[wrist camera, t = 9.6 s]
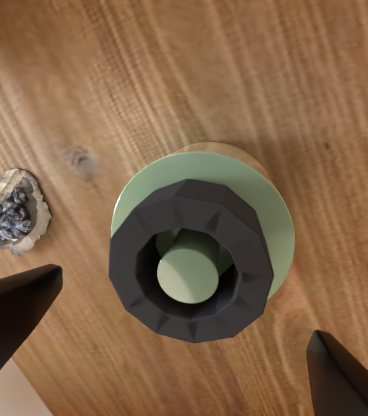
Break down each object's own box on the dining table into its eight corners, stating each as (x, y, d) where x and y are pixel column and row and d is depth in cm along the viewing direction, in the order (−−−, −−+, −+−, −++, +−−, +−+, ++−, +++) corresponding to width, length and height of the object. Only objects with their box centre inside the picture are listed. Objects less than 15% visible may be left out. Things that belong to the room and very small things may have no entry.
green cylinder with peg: (194, 285, 21) (167, 391, 13) (121, 191, 20) (39, 242, 12) (303, 227, 18) (361, 318, 10) (226, 111, 17) (217, 102, 8)
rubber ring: (204, 320, 15) (197, 366, 12) (111, 246, 15) (81, 276, 12) (294, 242, 13) (310, 276, 10) (185, 150, 12) (170, 159, 9)
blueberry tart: (-24, 229, 24) (-45, 238, 22) (-13, 150, 21) (-36, 152, 19) (40, 263, 24) (24, 274, 22) (61, 187, 21) (44, 193, 19)
